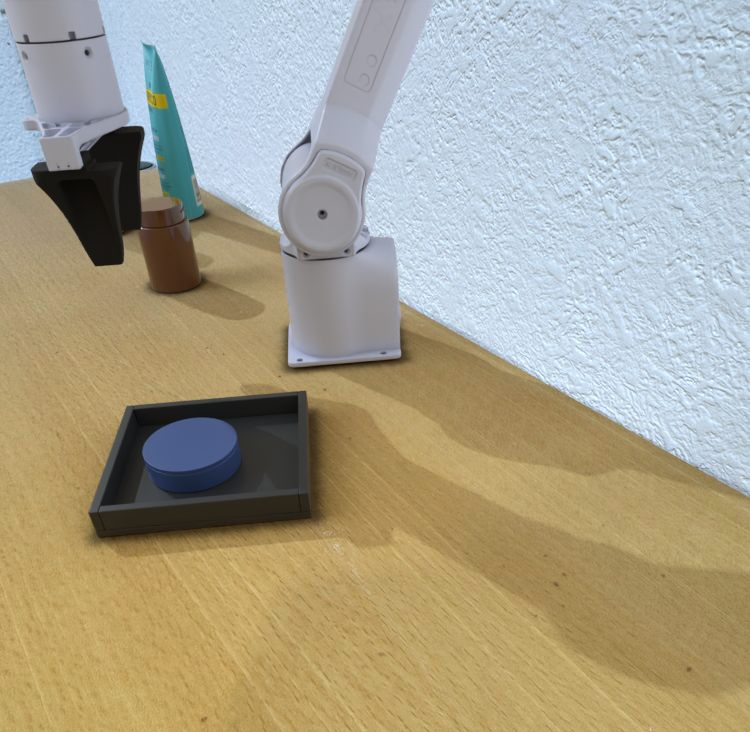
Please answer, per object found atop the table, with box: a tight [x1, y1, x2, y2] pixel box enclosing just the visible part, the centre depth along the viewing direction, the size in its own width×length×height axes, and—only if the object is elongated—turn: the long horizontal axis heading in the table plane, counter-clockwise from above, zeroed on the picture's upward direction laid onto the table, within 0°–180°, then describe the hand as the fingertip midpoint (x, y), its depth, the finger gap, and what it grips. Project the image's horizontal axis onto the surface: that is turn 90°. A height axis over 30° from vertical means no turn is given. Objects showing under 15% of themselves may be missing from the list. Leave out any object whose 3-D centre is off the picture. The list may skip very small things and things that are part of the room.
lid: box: [142, 418, 241, 493], centre depth 47 cm, size 6×6×2 cm
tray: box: [88, 390, 313, 538], centre depth 47 cm, size 13×12×2 cm
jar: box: [136, 196, 202, 294], centre depth 71 cm, size 5×5×8 cm
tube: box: [139, 39, 205, 221], centre depth 85 cm, size 7×5×19 cm, turn 31°
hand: (119, 245), depth 54 cm, fingers open, 7 cm apart
